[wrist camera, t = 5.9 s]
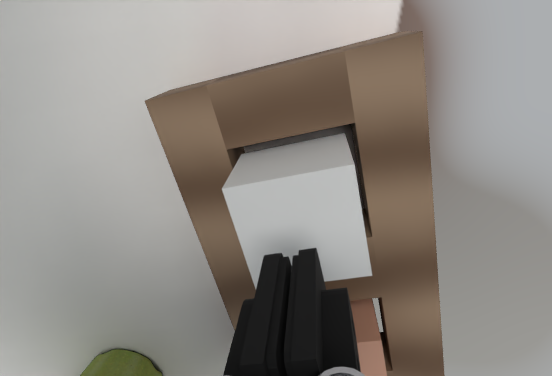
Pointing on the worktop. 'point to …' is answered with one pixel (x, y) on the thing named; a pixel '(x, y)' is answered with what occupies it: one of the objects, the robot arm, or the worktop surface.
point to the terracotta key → (368, 338)
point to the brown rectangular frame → (371, 165)
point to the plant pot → (120, 365)
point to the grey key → (300, 206)
